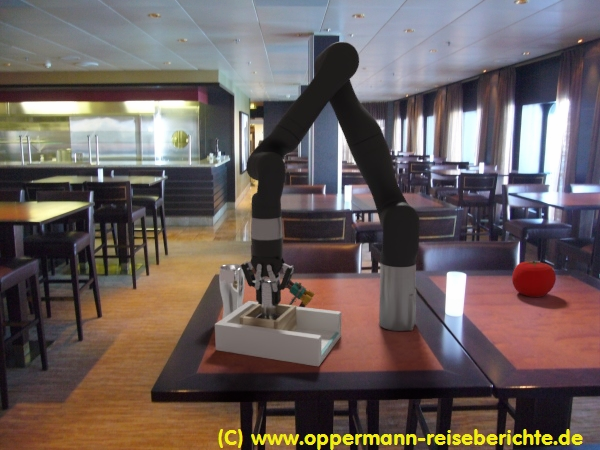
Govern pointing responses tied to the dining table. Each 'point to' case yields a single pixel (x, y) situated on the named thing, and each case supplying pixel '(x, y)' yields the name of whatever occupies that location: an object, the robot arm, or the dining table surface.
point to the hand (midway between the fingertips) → (268, 303)
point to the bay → (281, 336)
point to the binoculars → (300, 293)
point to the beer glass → (231, 287)
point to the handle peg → (267, 300)
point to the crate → (282, 322)
